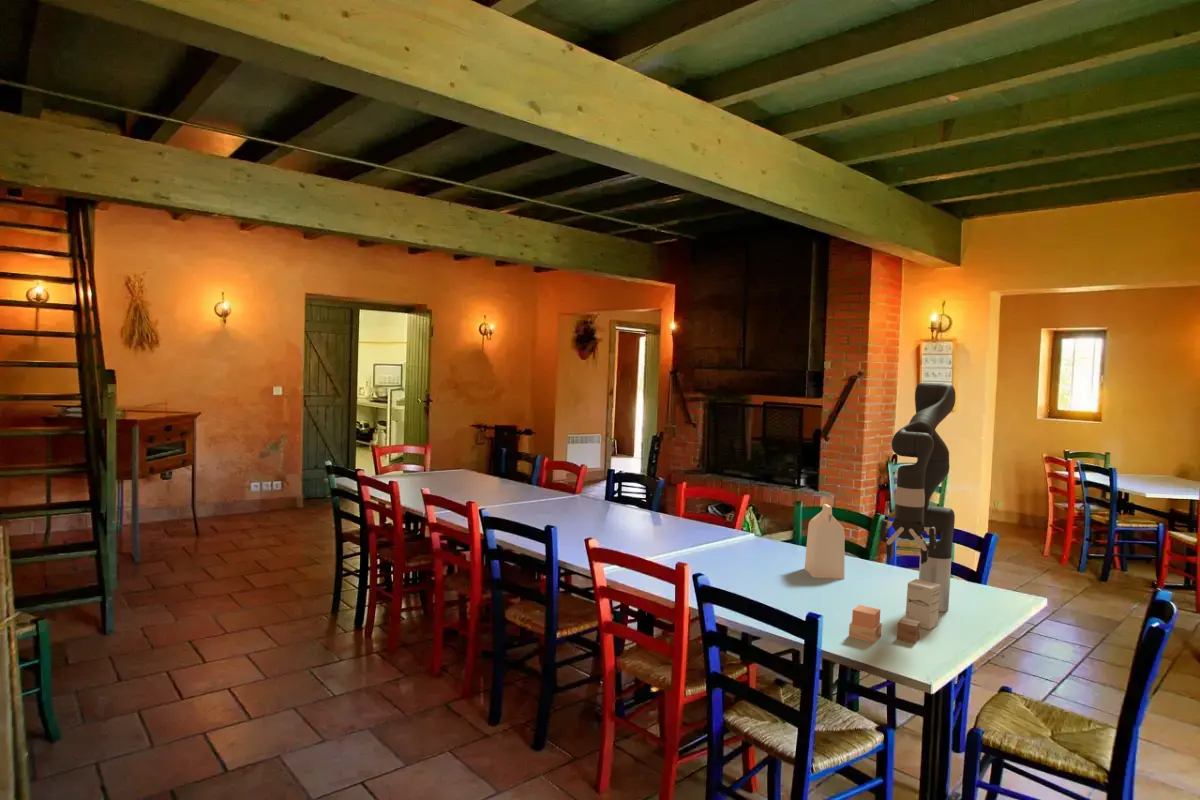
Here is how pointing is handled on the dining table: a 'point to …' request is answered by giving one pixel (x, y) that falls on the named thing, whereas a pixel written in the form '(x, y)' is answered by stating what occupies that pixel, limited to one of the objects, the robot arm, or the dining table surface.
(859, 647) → the dining table surface
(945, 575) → the robot arm
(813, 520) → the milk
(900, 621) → the walnut cube
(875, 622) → the tower
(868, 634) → the tower base
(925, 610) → the supplement box
